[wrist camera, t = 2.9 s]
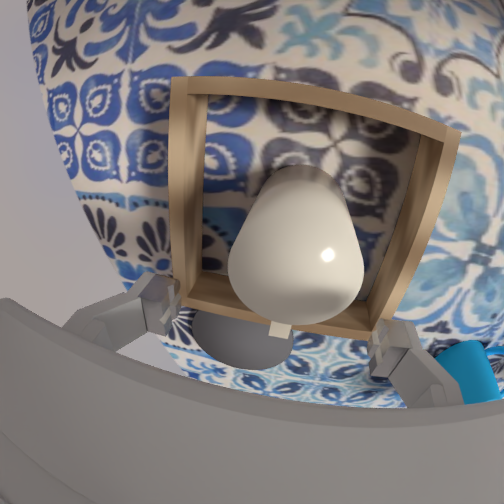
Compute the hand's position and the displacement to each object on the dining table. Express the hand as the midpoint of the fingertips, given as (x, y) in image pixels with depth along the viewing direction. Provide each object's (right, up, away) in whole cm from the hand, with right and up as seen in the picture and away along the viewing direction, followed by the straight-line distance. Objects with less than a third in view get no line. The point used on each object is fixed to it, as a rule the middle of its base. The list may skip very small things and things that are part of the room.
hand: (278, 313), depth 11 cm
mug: (+25, -10, +13) cm, 29 cm away
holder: (+2, +5, +8) cm, 10 cm away
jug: (+2, +4, +9) cm, 10 cm away
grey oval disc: (-2, -6, +16) cm, 17 cm away
